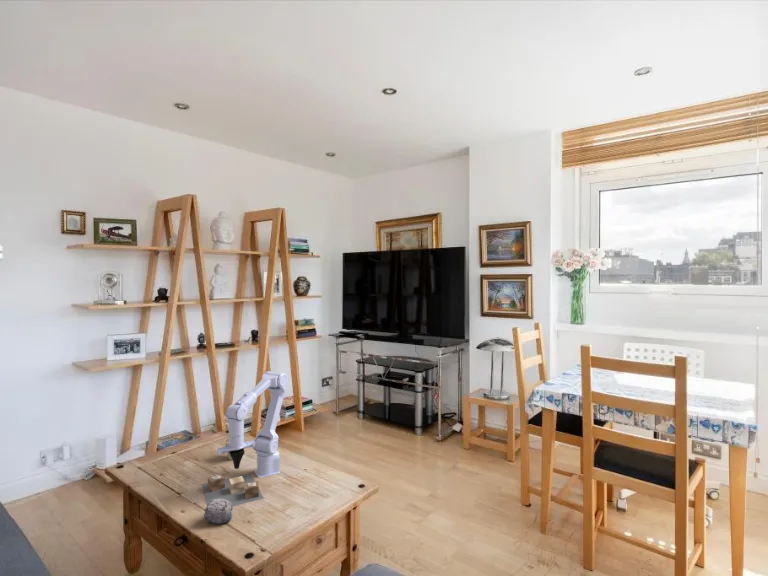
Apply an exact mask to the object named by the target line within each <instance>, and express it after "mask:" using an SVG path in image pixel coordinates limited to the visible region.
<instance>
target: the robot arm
mask: <svg viewBox="0 0 768 576" xmlns="http://www.w3.org/2000/svg"><path fill="white" fill-rule="evenodd" d="M288 382H289V377H288V376H287V373H286V372H276V371H270V370H268V371H265V373H264V374H262V376H261V380H260V381H259V382H258V383H257V384H256V385H255V387H253V389H252V390H251V391H247V392H245V393H243V395H242V396H240V398H239V399H238V400H236V402H235V403H233V404H230V405H229V406H228V407H227V408H226V411H225V412H224V415H225V417H226V419H227V423H228V438H229V445H227V446H226V445H223V446H221V447H219V448H217V449H216V454H217V455H218V456H221V455H222V454H226V453H227V452H229V453H230V455H231V457H232V460H231V461H232V462H233V467H234V469H235V470H238V469H240V465H241V461H242V458H243V457H244V455H245V449H247V448H252V449H253V450H254V451H255V454H256V469H255V470H254V473H255V474H256V476H257V478H258V479H261V478H264V477H269V476H273V475H278V474H280V473H281V462H280V461H281V460H280V458H281V457H280V452H279V450H278V448H279V435H278V434H277V433H276V429H277V424H278V421H279V420H278V419H279V417H280V413H281V409H282V405H283V401H284V397H285V393H286V391H287V387H288ZM266 390H269V391H270V392H271V396H270V401H269V404H268V408H267V412H266V417H265V420H264V423H263V427H262V429H261V430H260V431H258V432H257V433H256V437H254V439H253V440H250V441H244V438H245V436H244V435H245V431H244V430H245V422H244V421H245V418H246V417H247V415H248V412H249V411H250V409H251V408H252V407H253V406H254V405H255V404H256V403H257V401H258V400H257V399H258V398H259V396H261V394H263V393H264V392H265V391H266Z"/></svg>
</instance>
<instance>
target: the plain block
mask: <svg viewBox="0 0 768 576" xmlns="http://www.w3.org/2000/svg"><path fill="white" fill-rule="evenodd" d="M239 476H240V475H239ZM234 477H235V478H231V477H230V478H231V479H229V489H230V492H231V494H234V493H238V492H242V491H244V479H243V477H242V476H240V477H236V476H234Z"/></svg>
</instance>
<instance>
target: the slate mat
mask: <svg viewBox="0 0 768 576" xmlns="http://www.w3.org/2000/svg"><path fill="white" fill-rule="evenodd" d="M240 476H242V477H243V479H244V491H242V492H238V493H234V494H231V492H230V489H229V479H231V478H235V477H240ZM254 481H256V480H255V479H254V477H253V475H252V473H250V472H249V473H245V474H241V475H236V476H233V477H228V478H225V488H222V489H219V490H217V491H214V492H212V491H211V490H210V489H209V488H208V482H205V483H201V484H200V485H201V488H202V493H203V496H204V500H205V504H206V506H207V505H208V503H209V502H210V501H211V500H213V499H226V500H228V501H230V503H232V507H236V506H240V505H243V504H248V503H252V502H256V501H259V500H260V501H261V500H264V496H263V494H262V492H261V491H260V489H259V497H255V498H249V499H245V483H248V482H254Z"/></svg>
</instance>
